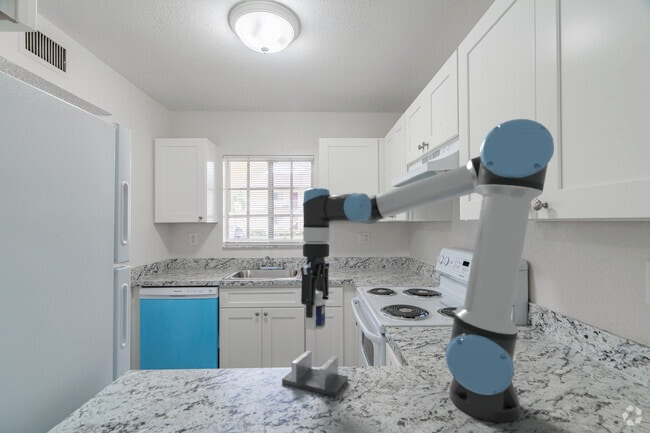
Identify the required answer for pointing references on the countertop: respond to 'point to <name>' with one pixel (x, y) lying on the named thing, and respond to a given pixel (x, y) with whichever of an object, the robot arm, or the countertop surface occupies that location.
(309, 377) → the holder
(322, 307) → the pill bottle
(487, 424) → the countertop surface
